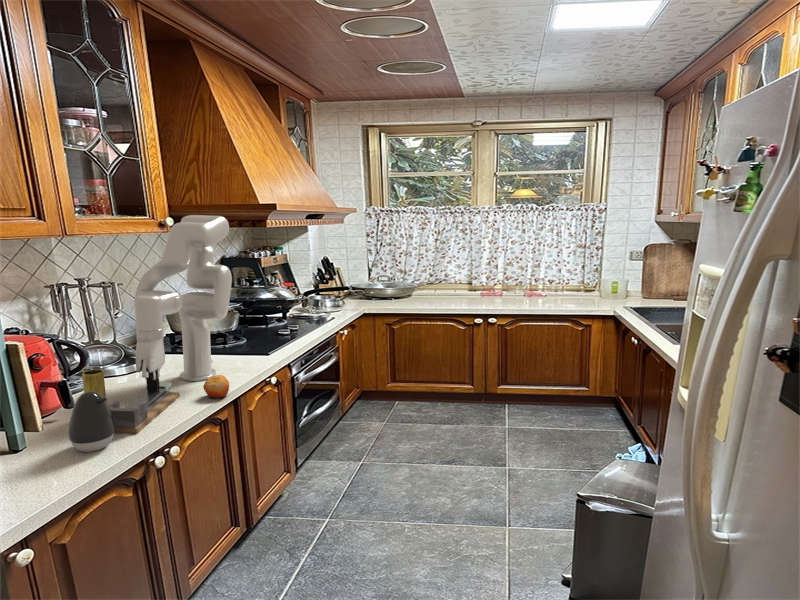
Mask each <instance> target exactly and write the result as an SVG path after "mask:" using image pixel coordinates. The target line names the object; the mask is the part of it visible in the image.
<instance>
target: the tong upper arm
mask: <svg viewBox="0 0 800 600" xmlns="http://www.w3.org/2000/svg"><path fill="white" fill-rule="evenodd" d="M159 385H160V389H159V390H158V391H157V392H148V391H147V389H146V390H145V391H144V392H142V393H141V394H140V395H139V396H137V397H136V398H135V399H133V400H132V401H131V402H130V403H128V404H127V405H126V406H125V407H124V408H135V407H136V406H138V405H139V404H140V403H142V402H143V401H147V407H148V406H149V405H150V404H151V403H152V402H153V401H154V400H156V399H157V398H158V397H159V396H160V395H161V394H162V393H163V392H165V391H166V390H169V389H170V388H171V387H172V381H159Z"/></svg>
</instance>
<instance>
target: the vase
mask: <svg viewBox="0 0 800 600" xmlns="http://www.w3.org/2000/svg"><path fill="white" fill-rule="evenodd" d="M81 376H82V384H83V385H82V387H83V393H85V392H88V391H95V392H98V393H99V394H100V395H101V396H102V397H107V391H106V382H105V372H104V370H103V369H101V368H95V369H93V368H92V369H89V370H85V371H83V372H82V375H81ZM107 400H108V399H107ZM107 400H106V403H107V404H108V401H107Z"/></svg>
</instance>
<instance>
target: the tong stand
mask: <svg viewBox="0 0 800 600" xmlns="http://www.w3.org/2000/svg"><path fill="white" fill-rule="evenodd" d="M180 395H181V392H179V391H178V392H177V391H172V392H171V390H169V389H167V390H166V391H165V392H163V393H162V394H161V395H160V396H159V397H158V398H157V399H156V400H154V401H153V402H152V403H151V404H150V405H149V406H148V407H147V401H143V402H142V403H140V404H139V405H138V406H136V407H135V408H125V407H121V405H120V403H121V402H120V400H115V401H114V402H112V403H110V404H109V405H108V406H109V409H110V411H111V413H112V416H113V420H114V424H115V433H114V435H115V434H117V435H121V434H123V435H125V434H126V435H137V434H139V433H140V432H141V431H142V430H144V428H146V427H147V426H148V425H149V424H150V423H152V422H153V421H154V420H155V419H156V418H157V417H159V415H161V414H162V413H163V412H164V411H165V410H166V409H167V408H169V407H170V406H171V405H172V404H173V403H175V402H176V401H177V400H178V399H179V398H180V397H181V396H180ZM176 399H177V400H176ZM169 405H170V406H169ZM168 406H169V407H168ZM161 412H162V413H161ZM160 413H161V414H160ZM154 418H155V419H154ZM153 419H154V420H153ZM152 420H153V421H152ZM145 426H146V427H145Z"/></svg>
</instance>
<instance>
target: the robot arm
mask: <svg viewBox="0 0 800 600" xmlns="http://www.w3.org/2000/svg"><path fill="white" fill-rule="evenodd" d="M229 231H230V224H229V221H228V219H227V218H226V217H224V216H222V215H203V214H201V215H199V214H190V215H185V216H183V217H182V218H181V220H180V222H177V223H174V224H173V225H172V226H171V228H170V230H169V232H168V233H169V234H168V237H167V240H166V244H165V247H164V249H163V253H162V256H161V258H160V260H159V261H158V262H156V263H155V264H154V265H152V266H151V267H150V268H149V269H147V271H146V272H144V274H143V275H142V276H141V278H140V280H139V281H138V283H137V288H136V290H135V293H134V299H133V305H134V318H135V331H136V332H135V333H136V334H135V335H136V345H135V346H136V347H135V370H136V372H137V373H141V378H144V379H145V380H146V390H147V391H148V392H157V391H158V390H159V389H160V385H159V382H160V376H161V375H160V374H161V373H160V372H161V369H162V368H163V366H164V365H165V363H166V353H165V345H164V339H165V336H164V332H165V331H164V318H163V316H168V315H169V316H170V315H174V314H177V313H179V319H180V323H181V334H182V336H181V338H182V353H183V354H182V355H183V357H182V359H183V371H182V372H180V373H179V379H181V380H183V381H185V382H186V381H188V382H198V381H199V382H200V381H206V380H208V379H209V378H210V377H212V376H217V371H216V369H214V368H212V364H213V360H212V353H211V352H212V351H211V347H212V346H211V329H210V325H209V324H208V323H207V321H206V320H216V321H217V320H218V321H219V320H223V319H224V318H226V317H227V315H228V312H229V306H230V299H231V294H232V293H231V292H232V291H231V290H232V283H233V277H232V272H231V270H230V268H229V267H228V266H226V265H223V264H214V263H215V262H214V261H215V251H214V248H213V246H216V245H217V244H219V243H220V242H222V241H223V240H224V239H225V238H226V237H228V234H229ZM186 270H187V271H186ZM184 271H186V272H187V273H186V285H187V286H188V288H191V289H193V290H200V291H201V290H202V291H213V292H212V293H211V292H210V293H209V292H208V293H206V292H187V293H184V294H182V295H180V294H179V293H178V292H176V291H170V290H155V288H156V286H157V285H159V284H160V283H161V282H162V281H163V280H165V279H167V278H169V277H170V278H171V277H172V276H175V275H177V274H180V273H182V272H184Z"/></svg>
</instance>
